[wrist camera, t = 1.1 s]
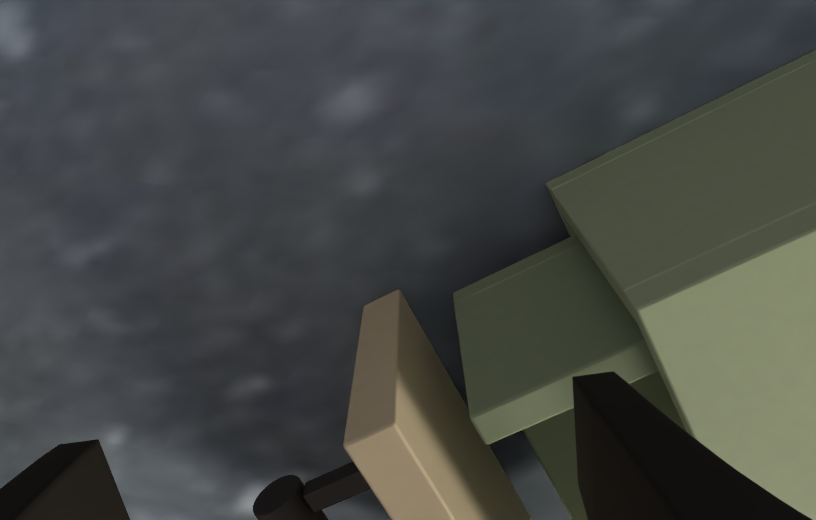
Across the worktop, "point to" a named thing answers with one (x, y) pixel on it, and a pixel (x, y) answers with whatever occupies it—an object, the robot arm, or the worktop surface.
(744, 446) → the cabinet
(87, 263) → the worktop surface
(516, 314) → the drawer
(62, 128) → the worktop surface
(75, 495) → the robot arm
